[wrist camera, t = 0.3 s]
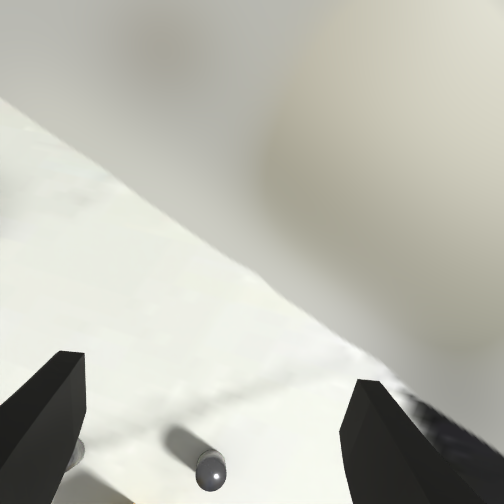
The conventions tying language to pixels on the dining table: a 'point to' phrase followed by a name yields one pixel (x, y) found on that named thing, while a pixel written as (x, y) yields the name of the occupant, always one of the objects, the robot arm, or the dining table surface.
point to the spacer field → (207, 471)
